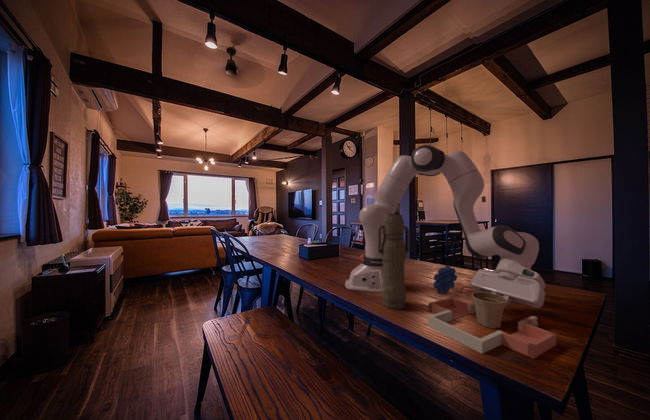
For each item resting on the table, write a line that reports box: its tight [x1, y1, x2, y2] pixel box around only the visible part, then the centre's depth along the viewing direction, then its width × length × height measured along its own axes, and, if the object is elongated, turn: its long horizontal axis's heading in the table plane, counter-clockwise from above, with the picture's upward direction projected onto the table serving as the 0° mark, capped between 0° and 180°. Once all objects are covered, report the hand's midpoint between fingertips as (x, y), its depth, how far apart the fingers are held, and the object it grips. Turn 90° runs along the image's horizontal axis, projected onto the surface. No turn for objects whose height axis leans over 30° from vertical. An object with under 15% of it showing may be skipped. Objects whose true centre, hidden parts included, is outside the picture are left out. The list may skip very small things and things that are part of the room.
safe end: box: [427, 310, 504, 354], centre depth 70 cm, size 10×16×3 cm, turn 27°
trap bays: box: [428, 296, 557, 360], centre depth 75 cm, size 12×30×3 cm, turn 27°
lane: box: [467, 301, 539, 333], centre depth 79 cm, size 9×16×3 cm, turn 27°
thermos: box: [377, 213, 410, 310], centre depth 91 cm, size 9×12×35 cm
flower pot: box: [471, 291, 507, 329], centre depth 76 cm, size 9×9×9 cm
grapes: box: [432, 264, 458, 294], centre depth 105 cm, size 12×7×12 cm, turn 104°
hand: (495, 307), depth 78 cm, fingers closed, pressing on flower pot
